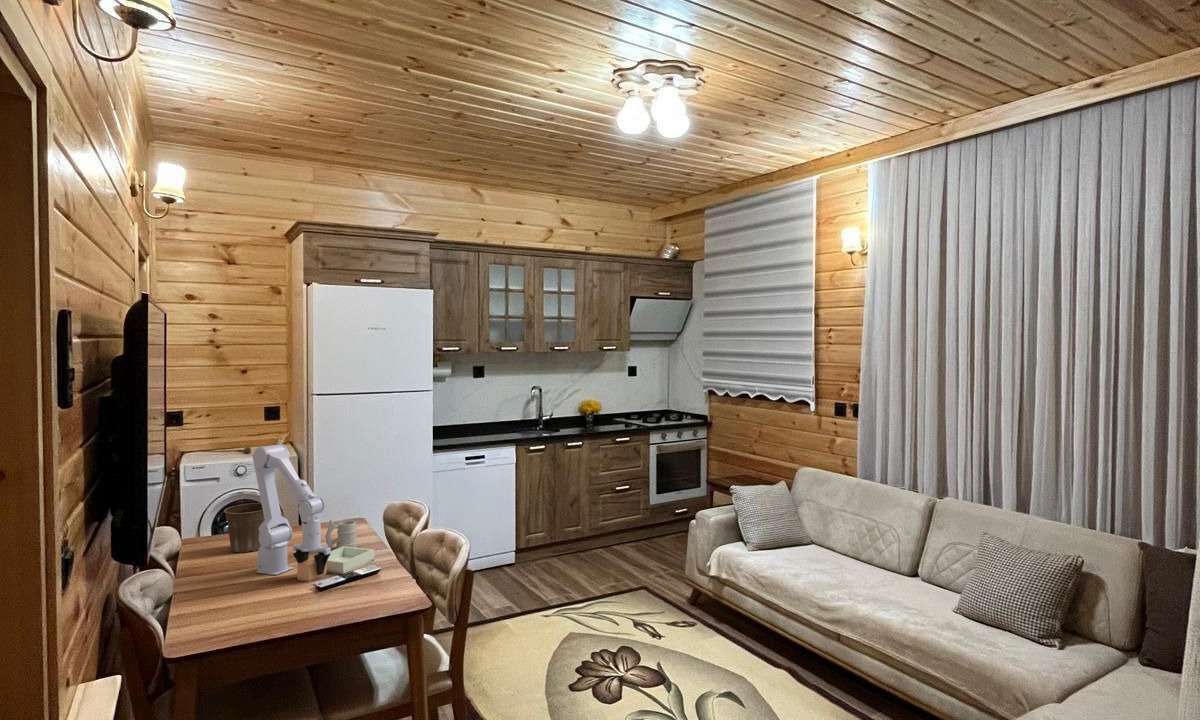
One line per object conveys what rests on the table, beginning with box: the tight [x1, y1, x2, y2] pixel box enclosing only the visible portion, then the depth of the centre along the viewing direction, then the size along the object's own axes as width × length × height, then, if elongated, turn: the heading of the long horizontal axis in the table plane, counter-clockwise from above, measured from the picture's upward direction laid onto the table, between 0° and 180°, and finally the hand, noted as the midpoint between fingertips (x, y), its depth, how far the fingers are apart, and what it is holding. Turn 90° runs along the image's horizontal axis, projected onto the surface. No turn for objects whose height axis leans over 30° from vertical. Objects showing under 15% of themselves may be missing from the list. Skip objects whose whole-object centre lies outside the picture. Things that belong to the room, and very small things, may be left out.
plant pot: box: [223, 502, 265, 553], centre depth 264 cm, size 16×16×16 cm
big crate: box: [326, 546, 375, 575], centre depth 243 cm, size 14×16×4 cm
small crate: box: [296, 557, 328, 583], centre depth 230 cm, size 5×8×6 cm, turn 159°
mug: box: [325, 519, 358, 549], centre depth 263 cm, size 8×12×12 cm, turn 125°
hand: (312, 573), depth 230 cm, fingers open, 7 cm apart
